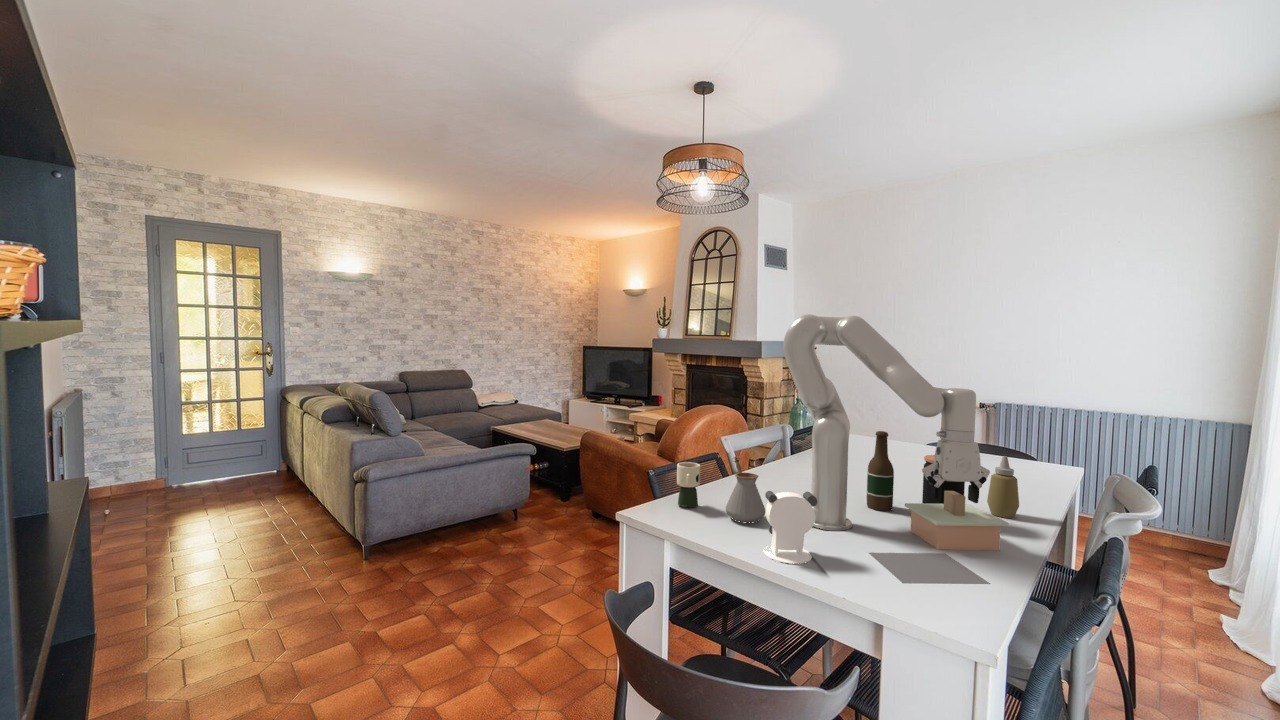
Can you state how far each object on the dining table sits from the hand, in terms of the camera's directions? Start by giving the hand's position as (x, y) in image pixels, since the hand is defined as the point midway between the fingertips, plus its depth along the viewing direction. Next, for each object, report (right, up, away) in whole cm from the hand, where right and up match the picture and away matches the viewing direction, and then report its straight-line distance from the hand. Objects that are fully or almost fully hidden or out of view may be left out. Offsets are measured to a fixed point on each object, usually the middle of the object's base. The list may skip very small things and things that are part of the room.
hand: (954, 501), depth 137 cm
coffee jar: (+7, -10, +19) cm, 23 cm away
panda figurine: (-46, -10, -10) cm, 48 cm away
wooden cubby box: (0, -11, 0) cm, 11 cm away
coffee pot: (-52, -9, +20) cm, 56 cm away
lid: (0, -4, 0) cm, 4 cm away
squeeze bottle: (+28, -11, +23) cm, 38 cm away
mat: (-17, -11, -17) cm, 26 cm away
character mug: (-67, -9, +26) cm, 73 cm away
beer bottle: (-7, -10, +28) cm, 31 cm away
